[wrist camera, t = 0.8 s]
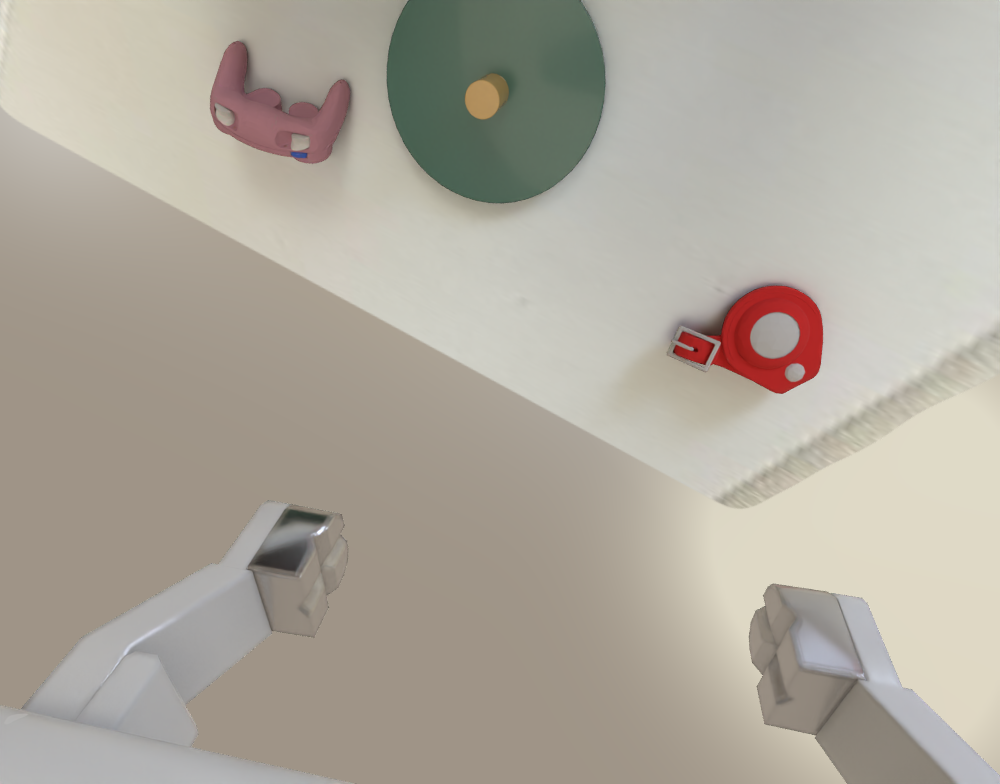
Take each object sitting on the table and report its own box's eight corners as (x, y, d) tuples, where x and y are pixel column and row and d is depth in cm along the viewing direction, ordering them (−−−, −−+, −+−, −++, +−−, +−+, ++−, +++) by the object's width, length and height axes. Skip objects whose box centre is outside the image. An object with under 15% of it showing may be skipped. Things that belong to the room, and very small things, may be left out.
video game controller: (244, 85, 48) (200, 140, 44) (231, 31, 43) (181, 87, 40) (357, 127, 48) (322, 184, 45) (355, 77, 44) (315, 136, 41)
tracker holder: (799, 262, 45) (857, 367, 47) (780, 260, 49) (833, 356, 51) (661, 344, 48) (719, 440, 50) (654, 335, 52) (708, 424, 54)
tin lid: (399, -70, 39) (372, -78, 34) (635, -18, 38) (637, -19, 34) (385, 174, 48) (362, 191, 44) (573, 219, 48) (569, 241, 43)
